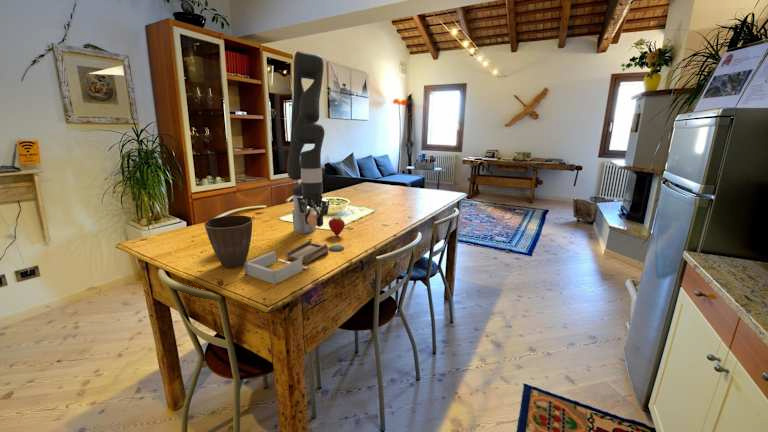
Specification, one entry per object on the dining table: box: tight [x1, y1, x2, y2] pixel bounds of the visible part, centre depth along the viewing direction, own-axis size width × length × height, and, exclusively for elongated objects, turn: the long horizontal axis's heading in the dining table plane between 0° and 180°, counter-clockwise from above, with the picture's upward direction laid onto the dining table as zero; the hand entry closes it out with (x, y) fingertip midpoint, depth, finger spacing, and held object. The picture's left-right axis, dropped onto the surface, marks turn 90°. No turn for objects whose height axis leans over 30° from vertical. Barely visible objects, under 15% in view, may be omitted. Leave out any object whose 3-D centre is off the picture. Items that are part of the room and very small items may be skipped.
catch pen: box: [243, 251, 304, 285], centre depth 112 cm, size 14×12×4 cm
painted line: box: [277, 258, 309, 270], centre depth 120 cm, size 14×1×1 cm, turn 59°
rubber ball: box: [307, 212, 318, 227], centre depth 126 cm, size 5×5×5 cm
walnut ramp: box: [285, 239, 329, 265], centre depth 126 cm, size 10×12×4 cm
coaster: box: [328, 244, 345, 253], centre depth 134 cm, size 6×6×1 cm
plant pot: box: [204, 214, 253, 269], centre depth 117 cm, size 15×15×16 cm
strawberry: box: [328, 214, 346, 236], centre depth 149 cm, size 6×8×10 cm
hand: (314, 225), depth 127 cm, fingers closed on rubber ball, 5 cm apart
